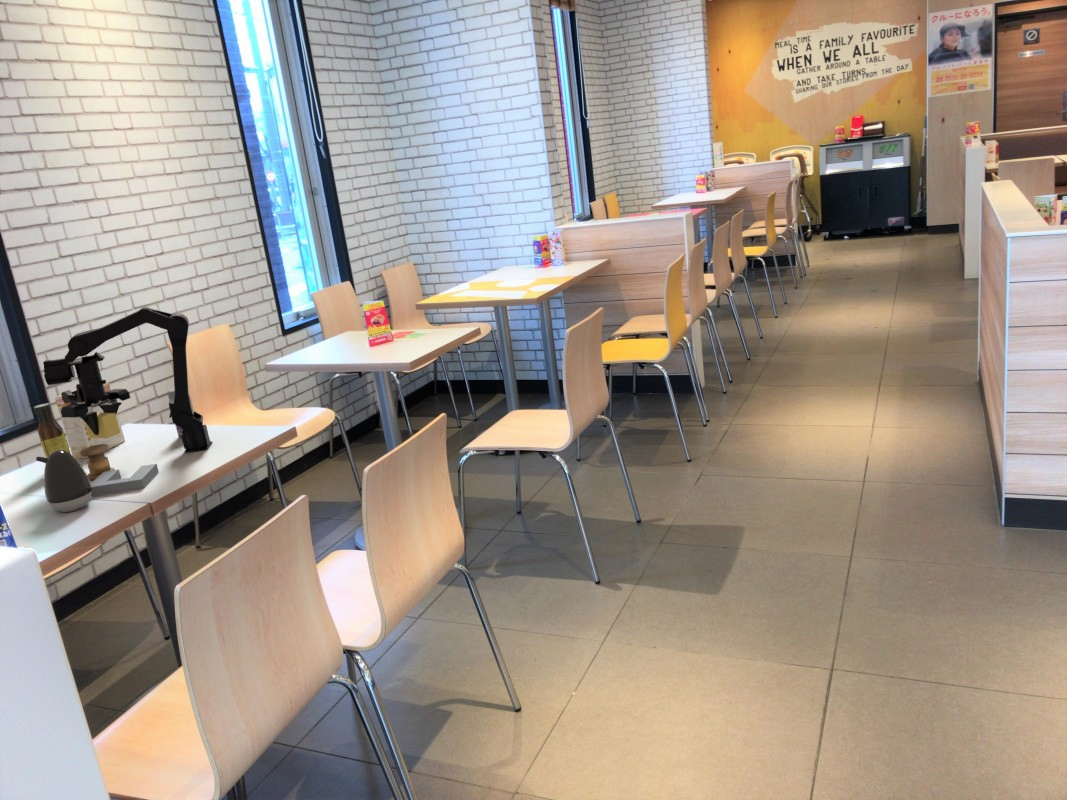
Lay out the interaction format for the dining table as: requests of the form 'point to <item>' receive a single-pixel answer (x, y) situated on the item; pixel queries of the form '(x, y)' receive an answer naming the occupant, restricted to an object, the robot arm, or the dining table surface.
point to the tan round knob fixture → (96, 460)
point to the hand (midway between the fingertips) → (103, 432)
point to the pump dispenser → (65, 482)
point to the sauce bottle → (50, 431)
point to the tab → (105, 426)
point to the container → (171, 396)
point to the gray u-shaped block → (123, 480)
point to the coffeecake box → (85, 430)
